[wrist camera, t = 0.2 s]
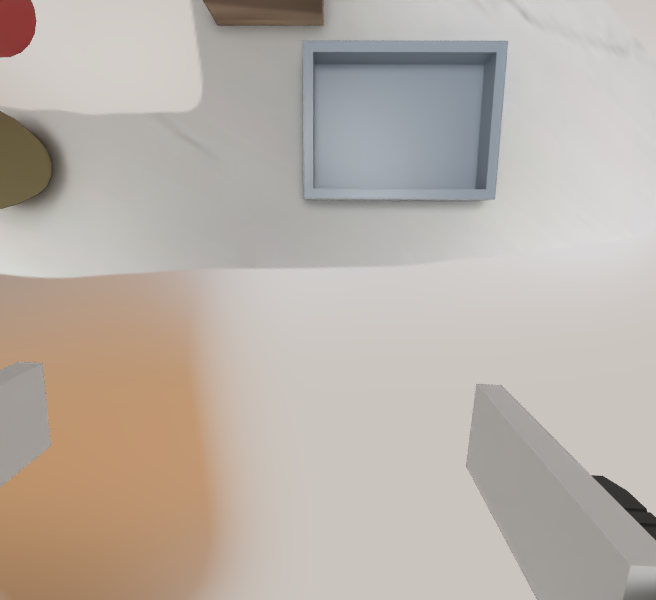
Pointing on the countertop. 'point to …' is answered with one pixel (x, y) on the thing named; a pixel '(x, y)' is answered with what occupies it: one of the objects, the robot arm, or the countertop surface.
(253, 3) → the block
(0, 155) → the squeeze bottle
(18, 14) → the beer can
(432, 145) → the tray
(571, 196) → the countertop surface
